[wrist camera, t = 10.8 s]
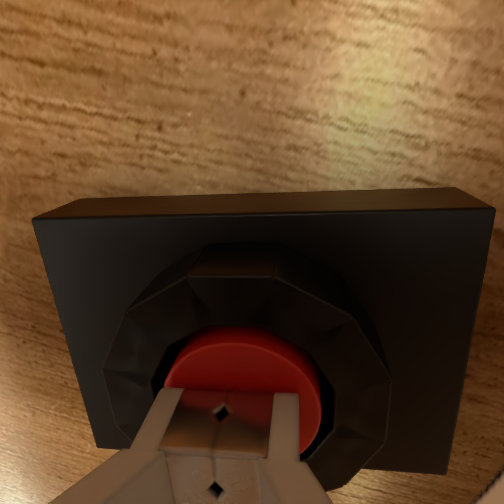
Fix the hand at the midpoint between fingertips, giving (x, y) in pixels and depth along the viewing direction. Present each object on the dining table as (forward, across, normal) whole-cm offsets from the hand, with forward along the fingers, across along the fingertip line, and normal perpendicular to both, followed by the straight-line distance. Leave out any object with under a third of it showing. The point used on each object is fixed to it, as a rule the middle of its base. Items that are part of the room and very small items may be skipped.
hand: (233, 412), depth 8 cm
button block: (+4, 0, 0) cm, 4 cm away
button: (+2, 0, 0) cm, 2 cm away
